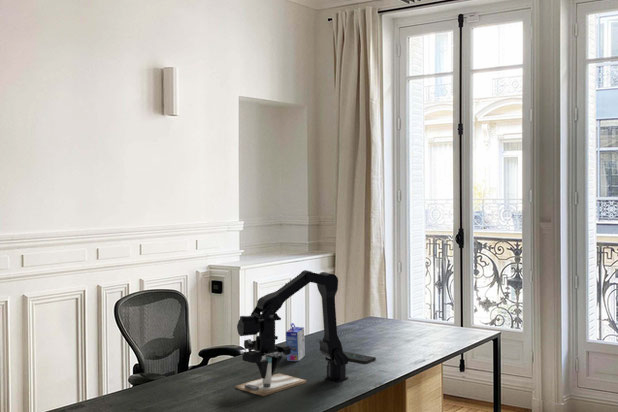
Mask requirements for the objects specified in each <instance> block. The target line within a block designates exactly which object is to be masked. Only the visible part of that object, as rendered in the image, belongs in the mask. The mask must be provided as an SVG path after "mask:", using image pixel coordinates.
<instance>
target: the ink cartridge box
mask: <svg viewBox="0 0 618 412" xmlns="http://www.w3.org/2000/svg"><path fill="white" fill-rule="evenodd" d="M290 327H291V328H289V329H287V331H285V340H286V341H285V345H288V346H289V347H290V348H291V354H288V355H286V361H288V362H299V361H301V360H302V359H303V358H304V357H305V355H306V352H305V350H306V345H305V327H303V326H301V327H300V326H296V325H295V323H294V322H291V323H290Z"/></svg>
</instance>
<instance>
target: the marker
mask: <svg viewBox="0 0 618 412" xmlns="http://www.w3.org/2000/svg"><path fill="white" fill-rule="evenodd" d="M266 360H268V366H267V371H266V376H265V379H263V378H262V377H261V378H262V383H263V386H264V387H270V386H271V381H272V357H266Z"/></svg>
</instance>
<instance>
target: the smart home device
mask: <svg viewBox="0 0 618 412" xmlns="http://www.w3.org/2000/svg"><path fill="white" fill-rule="evenodd" d="M343 353H344V354H345V355H346V356H347V357H348V358H349V361H348V362H352V363H358V364H365V365H366V364H369V363H372V362H374V361H377V358H376V356H375V357H374V356H370V355H366V354H365V355H364V354H360V353H355V352H349V351H344V350H343Z"/></svg>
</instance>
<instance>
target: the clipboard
mask: <svg viewBox="0 0 618 412" xmlns="http://www.w3.org/2000/svg"><path fill="white" fill-rule="evenodd" d="M306 383H307V379H303V378H299V377H295V376H291V375H287V374H284V373H276V374H273V375H272V381H271V386H270V387H264V386H263V383H262V377H261V378H258V379H255V380H252V381H247V382H244V383H240V384H237V385H235V389H238V390H241V391H245V392H248V393H251V394H255V395H258V396H261V397H265V396H267V395H271V394H272V395H273V394H275V393H277V392H281V391H284V390H287V389H291V388H293V387H297V386H301V385H304V384H306Z"/></svg>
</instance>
